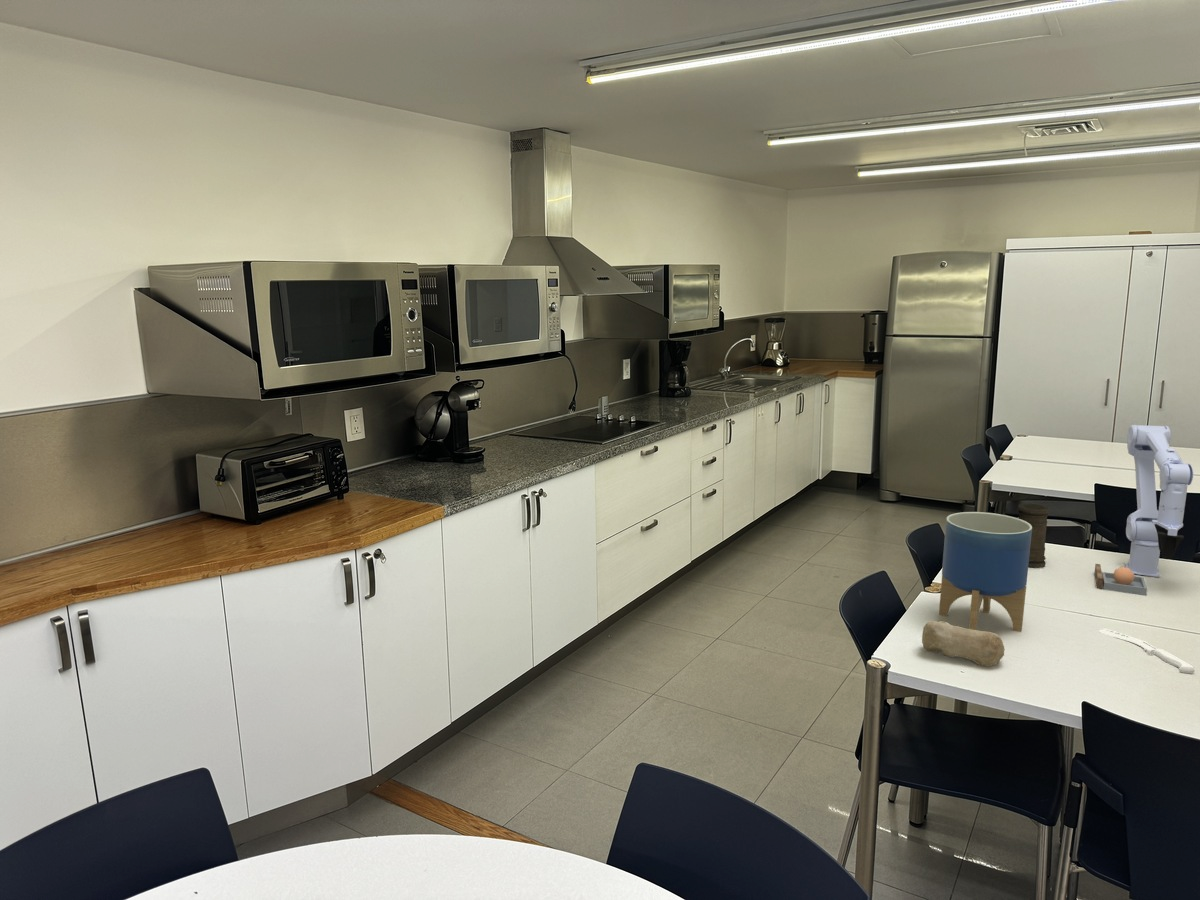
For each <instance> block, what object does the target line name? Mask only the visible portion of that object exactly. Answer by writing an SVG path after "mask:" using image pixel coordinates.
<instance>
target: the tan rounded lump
mask: <svg viewBox="0 0 1200 900" xmlns="http://www.w3.org/2000/svg"><path fill="white" fill-rule="evenodd" d="M921 643H922V645H923V646H922V647H923V648H924V649H925V650H926V651H928V652H933V653H935V652H941V653H942V655H943V656H946V657H950V658H952V657H959V658H964V659H967V660H970V661H971V662H972V661H973V662H975V664H978V665H979V666H981V667H990V666H991V667H992V666H994V665H997V664H998V663H999V662H1000V661H1001V660H1002V659H1003V657H1004V656H1005V650H1006V649H1005V645H1004V642H1003V640H1002V638H1001V637H1000V636H999V635H998V634H997V633H994V632H991V631H985V630H984V631H982V630H978V629H976V630H972V629H969V628H966V627H965V628H964V627H961V626H957V625H952V624H950V623H948V622H947V621H943V620H939V621H937V620H930V621H927V622H926V624H925V625H924V626H923V629H922V635H921Z"/></svg>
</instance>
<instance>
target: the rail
mask: <svg viewBox="0 0 1200 900" xmlns="http://www.w3.org/2000/svg"><path fill="white" fill-rule="evenodd" d="M1102 572H1103V571H1102V566H1101V564H1100V563H1095V565H1094V574H1093V575H1094V579H1095V584H1096V585H1095V586H1096V589H1098V590H1102V589H1103V576H1102Z"/></svg>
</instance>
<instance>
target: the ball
mask: <svg viewBox="0 0 1200 900" xmlns="http://www.w3.org/2000/svg"><path fill="white" fill-rule="evenodd" d="M1113 573H1114V574H1113V577H1114V580H1115V581H1116V582H1117V583H1119V584H1122V585H1128V584H1131V583H1132V582H1133V580H1134V576H1135V574H1134V573H1133V572H1132V571H1131V570H1130V569H1129V568H1126V566H1125V567H1124V566H1121V567H1118V568H1116V569H1115V570H1114V571H1113Z"/></svg>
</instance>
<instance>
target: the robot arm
mask: <svg viewBox="0 0 1200 900" xmlns="http://www.w3.org/2000/svg"><path fill="white" fill-rule="evenodd" d="M1171 433H1172V432H1171V429H1170V427H1169V426H1168V425H1145V424H1144V425H1142V424H1141V425H1140V424H1137V425H1136V424H1131V425H1130V426H1129V427H1128V430H1127V434H1126V445H1127V453H1128V454H1129V455H1131V456H1132V457H1133V460H1134V468H1135V470H1134V471H1135V487H1136V489H1135V490H1136V503H1137V504H1136V506H1137V509H1136V511H1134V512H1132V513H1130V514H1129V515H1128V516H1127V519H1126V527H1125V535H1126V538H1127V539H1128V541H1130V542H1131V543H1130V552H1129V559H1128V560H1129V561H1128V562H1125V564H1124V565H1125V567H1126V568H1129V569H1130V570H1131V571H1132V572H1133V573H1134V575H1140V576H1147V577H1154V578H1161V573H1160V572H1159V569H1158V568H1159V561H1160V554H1161V555H1162V558H1163V559H1167V560H1168V559H1169V560H1170V559H1171V560H1173V558H1174V555H1175V552H1176V550H1177V548H1178V546H1179V545H1180V543H1181V542H1182V541H1183V540H1184V538H1185V537H1184V535H1181V534H1178V531H1179V530H1180V529H1181V528H1183V527H1184V523H1183V521H1184V515H1185V507H1186V500H1187V494H1188V486H1190V485H1192V482H1193V480H1194V469H1193V466H1192V464H1191V463H1187V462H1184V461H1183V460H1182V458H1181V456H1180V454H1179V453H1178V451H1177V450H1176V449H1175V448H1171V447H1170V445H1169V444H1170V442H1171V437H1172V434H1171ZM1155 463H1156V466H1157V467H1158V469H1159V475H1158V476H1159V489H1160V495H1159V496H1160V497H1159V504H1157V489H1156V474H1155V473H1156V471H1155ZM1157 505H1158V506H1157ZM1160 552H1161V553H1160Z"/></svg>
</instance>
